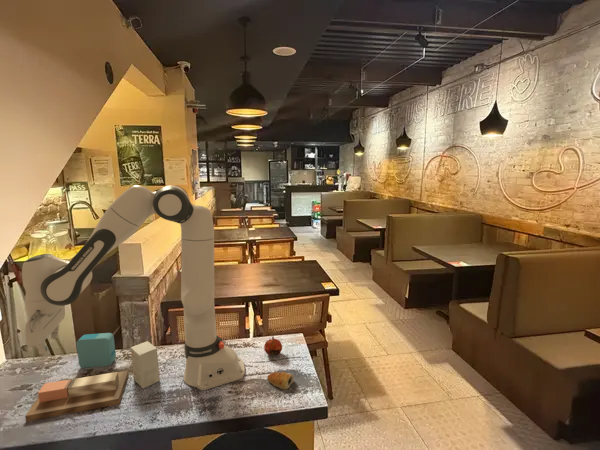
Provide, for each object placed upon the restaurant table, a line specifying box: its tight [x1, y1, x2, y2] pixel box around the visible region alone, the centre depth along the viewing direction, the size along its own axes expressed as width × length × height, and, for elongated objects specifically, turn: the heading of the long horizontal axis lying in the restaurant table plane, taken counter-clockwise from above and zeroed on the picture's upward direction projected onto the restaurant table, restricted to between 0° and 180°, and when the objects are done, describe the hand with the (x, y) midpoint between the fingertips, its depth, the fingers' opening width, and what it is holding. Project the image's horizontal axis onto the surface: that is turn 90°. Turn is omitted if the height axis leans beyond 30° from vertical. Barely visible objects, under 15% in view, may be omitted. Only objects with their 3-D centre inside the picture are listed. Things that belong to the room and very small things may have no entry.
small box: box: [130, 340, 161, 389], centre depth 123 cm, size 8×6×13 cm
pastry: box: [267, 371, 295, 390], centre depth 122 cm, size 9×7×4 cm
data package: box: [75, 332, 117, 369], centre depth 133 cm, size 12×4×12 cm, turn 97°
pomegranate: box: [263, 335, 283, 361], centre depth 139 cm, size 7×7×10 cm
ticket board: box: [24, 370, 129, 422], centre depth 115 cm, size 26×16×6 cm, turn 107°
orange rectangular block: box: [37, 378, 73, 403], centre depth 113 cm, size 8×5×4 cm, turn 107°
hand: (49, 344), depth 110 cm, fingers open, 8 cm apart
